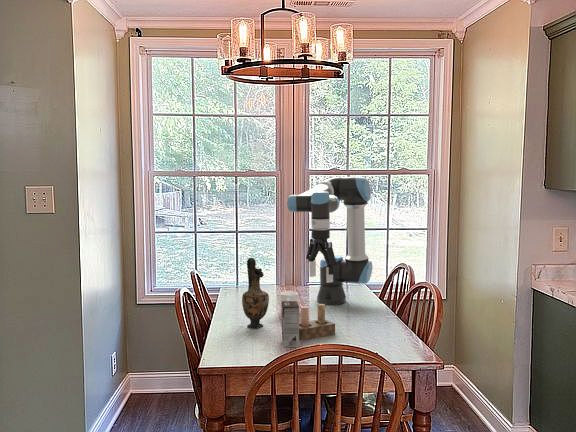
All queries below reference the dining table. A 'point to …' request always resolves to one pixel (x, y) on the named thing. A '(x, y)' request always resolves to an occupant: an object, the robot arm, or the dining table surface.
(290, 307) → the coffee box
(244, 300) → the vase
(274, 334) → the dining table surface
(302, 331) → the hole block
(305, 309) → the terracotta peg
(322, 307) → the oak peg
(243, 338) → the dining table surface
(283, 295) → the mug
